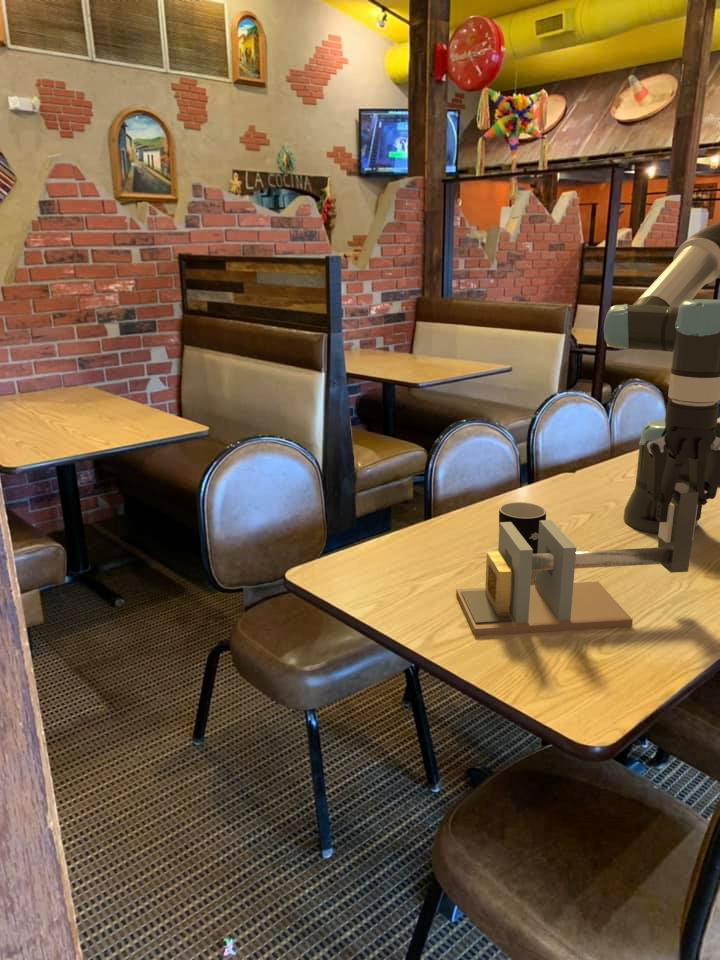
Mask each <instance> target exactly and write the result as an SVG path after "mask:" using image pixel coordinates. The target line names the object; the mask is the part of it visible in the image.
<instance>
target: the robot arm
mask: <svg viewBox="0 0 720 960" xmlns="http://www.w3.org/2000/svg"><path fill="white" fill-rule="evenodd" d="M716 279H720V221H718V222H715V223H712V224H711V225H708V226H707V227H704V228H702V229H701V230H699V231H697V232H695V233H694V234H693V235H691V236H689V238H687V239H686V240H685V241H683V243H681V245H680V246H679V247H678V248H677V250H676V252H675V253H674V255H673V259H672V261H671V263H670V264H669V265H668V266H667V267H666V268H665V270H663V272H662V273H661V274H660V275H659V276H658V277H657V279H655V280H654V281H653V283H652V284H651V285H649V287H648V288H647V289H645V291H644V293H642V294H641V296H640V297H638V299H637V300H636V301H635V302H634V303H633V304H628V303H623V304H615V305H613V306H611V307H610V308H609V310H608V311H607V313H606V316H605V318H604V323H603V337H604V341H605V343H606V345H608V346H609V347H611V348H615V349H616V348H617V349H625V350H627V351H628V350H636V351H637V350H638V351H653V352H666V353H667V352H669V353H672V359H671V368H670V369H671V370H670V376H669V386H668V395H667V396H668V397H669V398H670V399H669V400H668V401H667V402H666V409H665V418H662V419H661V418H660V419H655V420H652V421H649V422H647V423H646V424H644V425H643V427H642V429H641V434H640V440H639V443H638V445H639V446H638V447H639V448H638V456H637V457H638V458H637V460H638V461H637V469H636V478H635V486H634V489H633V491H632V492H631V494H630V497H629V499H628V502H627V503H626V505H625V507H624V511H623V521H624V522H625V523H626V524H627V525H628V526H630V527H633V528H635V529H636V530H639V531H643V532H645V533H650V534H651V533H652V534H656V535H657V536H658V538H659V537H660V538H661V539H662V540H664V541H665V542H670V541H671V533H672V525H673V517H674V509H675V505H674V504H672V503H671V499H672V496H673V492H674V489H675V486H676V483H684V484H686V485H688V486H689V487H691V488H692V489H694V490H696V491H697V492H699V495H698V502H697V509H696V516H695V524H694V531H693V538H692V542H694V536H695V531H696V529H697V528H698V522H699V521H700V520H701V516H702V515H701V514H702V509H703V506H705V505H706V504H707V503H708V500H709V499H710V500H714V499H715V498H716V496H717V491H718V489H720V417H718V416H719V409H720V405H719V404H718V402H719V401H720V299H711V298H710V299H707V298H706V299H704V298H701V299H700V298H699V299H695V297H696V295H698V293H699V292H700V291H701V289H702V288H703V287H704V286H705V285H708V284H709V283H712V282H713V281H715V280H716Z"/></svg>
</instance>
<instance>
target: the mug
mask: <svg viewBox="0 0 720 960" xmlns="http://www.w3.org/2000/svg"><path fill="white" fill-rule="evenodd" d="M498 510H499V511H498V526H499V525H500V522H512V524H513V525H514V526H515V528H516V529H517V530H518V531H519V533H520V534H521V535H522V537H523V538H524V539H525V540H526V542H527V543H528V544H529V546H530V547H531V548H532V549H533V554H537V551H538V535H539V521H540V520H547V510H546V509H545V507H543V506H541V505H538V504H535V503H531V502H522V501H519V502H518V501H517V502H509V503H505V504H502V505H501V506H500V507H499V509H498Z"/></svg>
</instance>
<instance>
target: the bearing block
mask: <svg viewBox="0 0 720 960" xmlns="http://www.w3.org/2000/svg"><path fill="white" fill-rule="evenodd" d="M497 549H498V550H497V551H499V553H500V554H501V556H502V557H503V559H504V561H505V562H506V564H507V565H508V567H509V568H510V570H511V571H512V575H511V594H510V613H509V616H497V615H496V613H495V611H494V609H493V608H492V606H491V604H490V602H489V600H488V598H487V597H486V595H485V587H474V588H473V587H472V588H458V589H457V588H455V589H456V590H455V595H456V598H457V599H458V600H457V601H458V602H459V604H460V607H461V609H462V611H463V613H464V615H465V617H466V619H467V622H468V624H469V626H470V629H471V630H472V633H473V635H474V636H489V635H490V636H492V635H505V634H506V635H508V634H510V635H511V634H524V633H537V632H538V633H541V632H555V631H557V632H559V631H574V630H575V631H576V630H592V629H606V628H609V629H610V628H623V627H626V628H627V627H633V621H634V620H633V618H632V617H631V616H630V615H629V614H628V613H627V611H625V609H624V608H623V607H622V606H621V605H620V604H619V602H617V600H616V599H615V598H614V597H613V596H612V595H611V594H610V592H608V591H607V589H606V588H605V587H604V586H603V585H602V584H601V583H600V582H599V581H586V582H585V581H584V582H574V580H575V572H576V571H575V559H576V552H577V546H576V545H575V544H573V542H572V541H571V540H570V539H569V538H568V537H567V535H565V534H564V533H563V531H561V529H560V528H559V527H558V526H557V525H556V524H555V522H553V521H552V520H551V519H546V520H540V521H539V535H538V551H537V554H540V553H553V555H554V563H553V570H539V571H535V581H534V582H535V584H532V572H533V571H532V555H533V549H532V548H531V547H530V546H529V544H528V543H527V542H526V540H525V539H524V538H523V537H522V535H521V534H520V533H519V531H518V530H517V529H516V528H515V526H514V525H513V524H512V522H500V525H499V524H498V548H497Z"/></svg>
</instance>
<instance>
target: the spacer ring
mask: <svg viewBox="0 0 720 960" xmlns="http://www.w3.org/2000/svg"><path fill="white" fill-rule="evenodd" d="M485 566H486V569H485V586H484V588H485V595H486V597H487V598H488V600H489V602H490V604H491V606H492V608H493V609H494V611H495V613H496V615H497V616H509V613H510V594H511V575H512V571H511V570H510V568H509V567H508V565H507V564H506V562H505V561H504V559H503V557H502V556H501V554H500V553H499V551H498V550H496V551H486V565H485Z"/></svg>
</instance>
